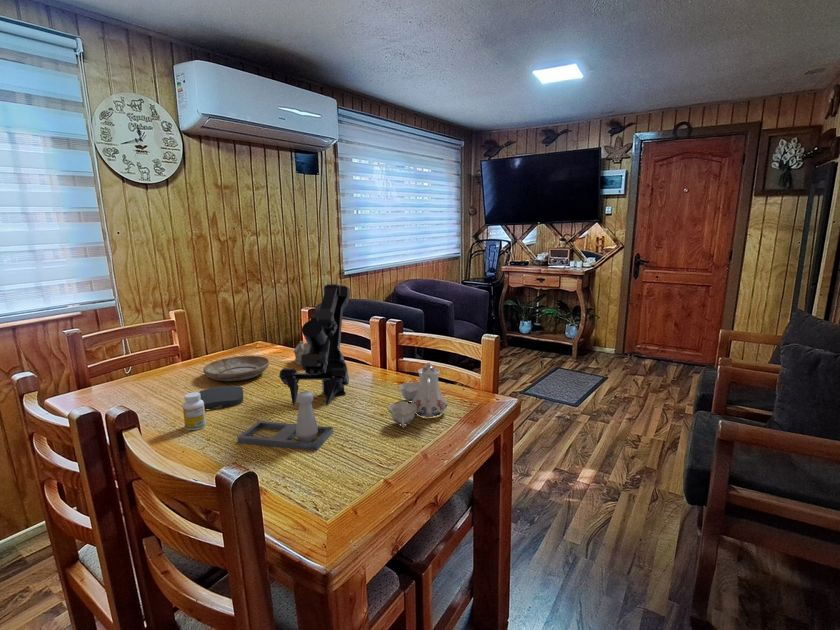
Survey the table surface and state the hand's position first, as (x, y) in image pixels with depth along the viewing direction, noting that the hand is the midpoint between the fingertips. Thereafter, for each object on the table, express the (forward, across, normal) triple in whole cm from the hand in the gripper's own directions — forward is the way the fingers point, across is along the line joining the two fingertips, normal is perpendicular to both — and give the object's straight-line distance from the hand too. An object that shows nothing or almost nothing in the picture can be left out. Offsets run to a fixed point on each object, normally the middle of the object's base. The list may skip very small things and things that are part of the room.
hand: (310, 405), depth 123 cm
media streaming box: (-10, -37, +22) cm, 44 cm away
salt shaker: (+9, 0, +2) cm, 9 cm away
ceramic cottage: (-40, -16, +53) cm, 68 cm away
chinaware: (-3, +29, +15) cm, 33 cm away
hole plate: (+8, -6, +3) cm, 10 cm away
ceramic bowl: (-27, -41, +39) cm, 63 cm away
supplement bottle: (+4, -34, +7) cm, 35 cm away
